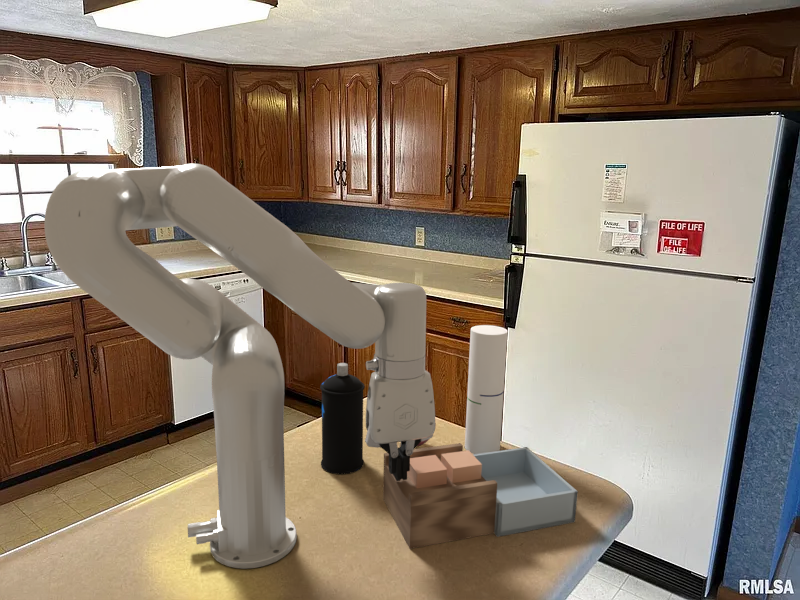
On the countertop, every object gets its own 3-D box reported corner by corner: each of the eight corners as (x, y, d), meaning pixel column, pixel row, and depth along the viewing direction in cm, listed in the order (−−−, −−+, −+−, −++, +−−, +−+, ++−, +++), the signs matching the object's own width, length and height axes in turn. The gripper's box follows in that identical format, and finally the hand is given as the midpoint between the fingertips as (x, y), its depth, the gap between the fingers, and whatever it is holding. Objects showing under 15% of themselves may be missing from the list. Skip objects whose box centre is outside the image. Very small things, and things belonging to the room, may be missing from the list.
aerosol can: (372, 461, 114) (373, 362, 109) (346, 479, 107) (346, 375, 102) (338, 449, 118) (338, 354, 114) (311, 466, 111) (310, 366, 107)
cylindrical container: (499, 457, 116) (507, 336, 111) (463, 453, 118) (469, 333, 112) (500, 441, 123) (507, 326, 118) (466, 438, 124) (472, 324, 119)
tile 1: (416, 488, 91) (417, 473, 90) (406, 472, 96) (406, 458, 95) (446, 483, 93) (447, 469, 92) (435, 468, 97) (435, 454, 97)
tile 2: (452, 483, 93) (453, 468, 92) (440, 467, 98) (441, 454, 97) (481, 478, 94) (481, 464, 94) (468, 463, 99) (468, 450, 98)
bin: (497, 536, 91) (499, 504, 90) (456, 484, 106) (457, 456, 105) (574, 522, 95) (577, 491, 94) (524, 474, 110) (526, 447, 109)
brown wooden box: (409, 548, 88) (411, 496, 86) (383, 499, 101) (384, 453, 99) (494, 533, 92) (497, 483, 90) (458, 487, 105) (460, 443, 103)
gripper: (358, 378, 83) (358, 496, 87) (455, 368, 87) (452, 480, 91) (346, 362, 90) (347, 471, 94) (437, 353, 94) (434, 458, 98)
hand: (399, 475), depth 92 cm, fingers closed
